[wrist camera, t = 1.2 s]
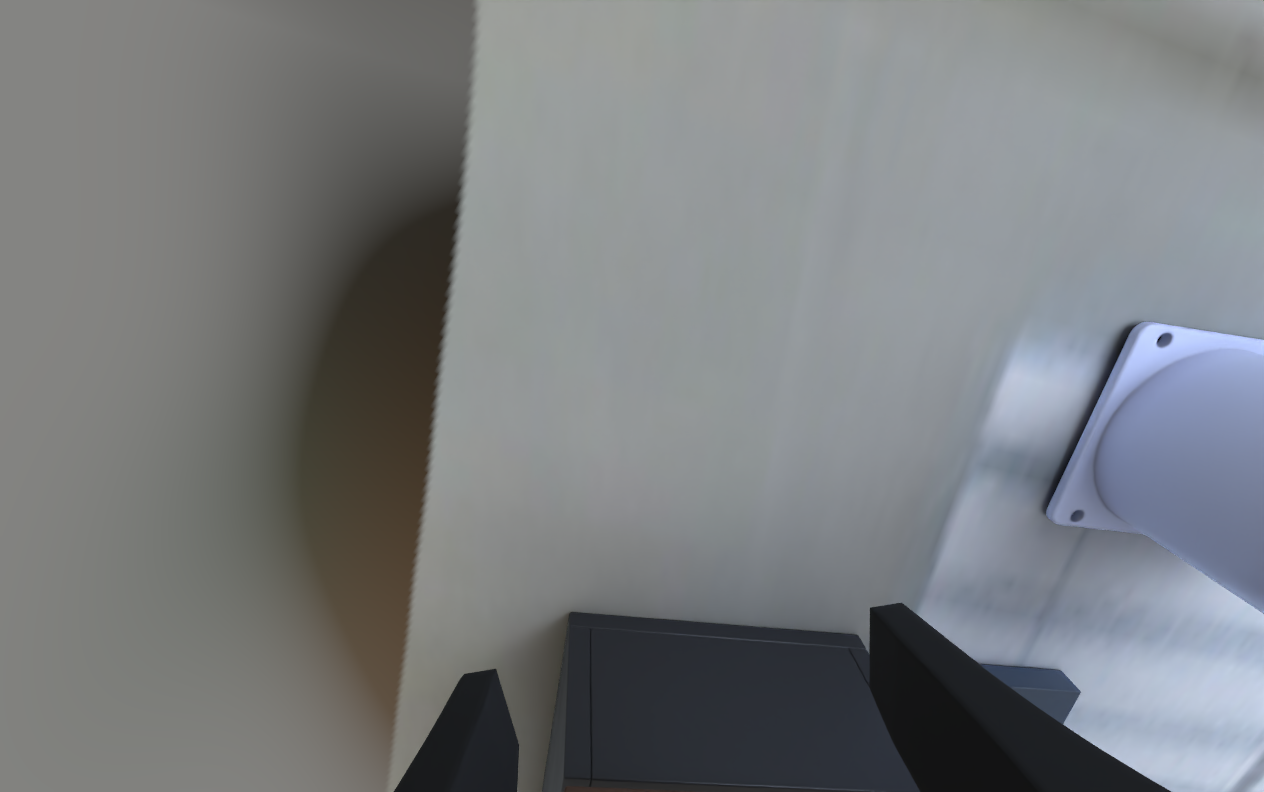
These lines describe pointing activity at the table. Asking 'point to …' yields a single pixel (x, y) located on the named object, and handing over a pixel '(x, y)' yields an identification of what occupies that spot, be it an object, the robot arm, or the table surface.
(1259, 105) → the table surface
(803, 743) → the storage box
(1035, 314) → the table surface
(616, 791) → the lid
